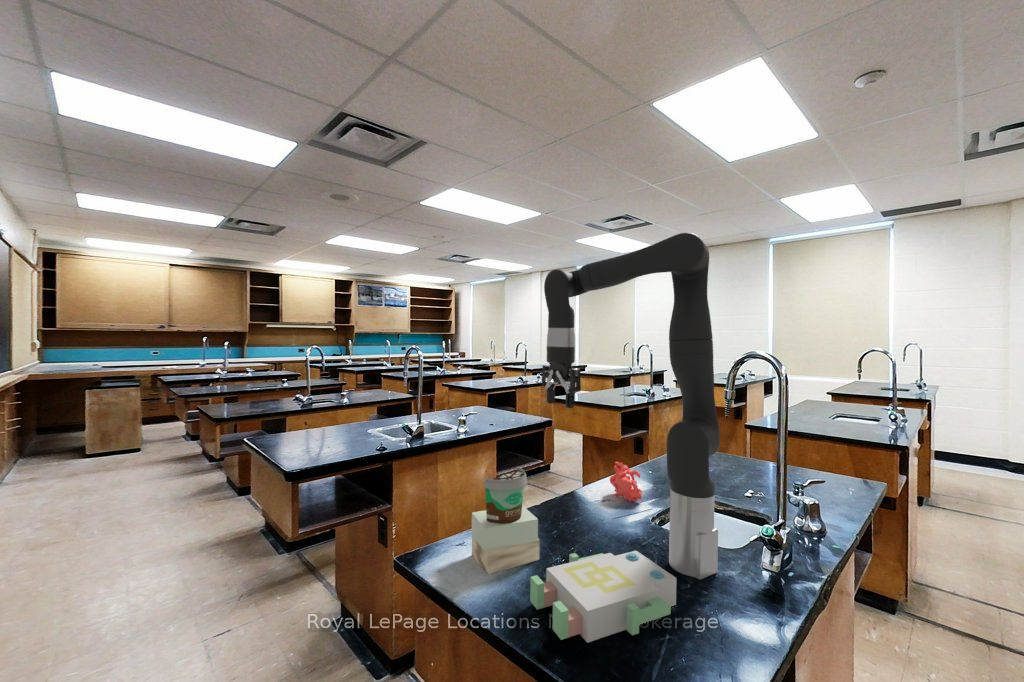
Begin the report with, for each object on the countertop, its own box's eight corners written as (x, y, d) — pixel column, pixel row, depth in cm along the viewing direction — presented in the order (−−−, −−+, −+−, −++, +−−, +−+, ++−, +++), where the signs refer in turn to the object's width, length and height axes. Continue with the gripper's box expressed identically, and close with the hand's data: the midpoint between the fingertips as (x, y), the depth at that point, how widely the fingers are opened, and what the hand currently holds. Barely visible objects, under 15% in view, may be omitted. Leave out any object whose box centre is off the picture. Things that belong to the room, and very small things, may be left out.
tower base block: (539, 560, 98) (539, 539, 98) (488, 575, 91) (488, 552, 91) (519, 544, 105) (519, 524, 105) (471, 556, 99) (472, 535, 99)
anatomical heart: (638, 511, 130) (632, 476, 128) (605, 500, 139) (600, 467, 137) (652, 497, 135) (648, 463, 133) (621, 487, 144) (616, 455, 142)
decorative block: (623, 538, 96) (694, 586, 77) (622, 566, 96) (693, 621, 78) (520, 562, 85) (575, 624, 67) (520, 593, 85) (574, 664, 67)
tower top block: (537, 540, 97) (538, 519, 97) (484, 551, 92) (484, 528, 92) (521, 524, 105) (521, 504, 105) (471, 533, 100) (471, 512, 100)
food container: (503, 531, 90) (504, 484, 90) (482, 523, 94) (483, 478, 94) (537, 513, 100) (538, 471, 100) (516, 506, 104) (517, 466, 104)
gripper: (589, 345, 109) (588, 408, 109) (556, 344, 122) (555, 400, 122) (565, 345, 105) (564, 410, 106) (534, 344, 118) (533, 402, 118)
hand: (559, 405), depth 114 cm, fingers open, 8 cm apart
